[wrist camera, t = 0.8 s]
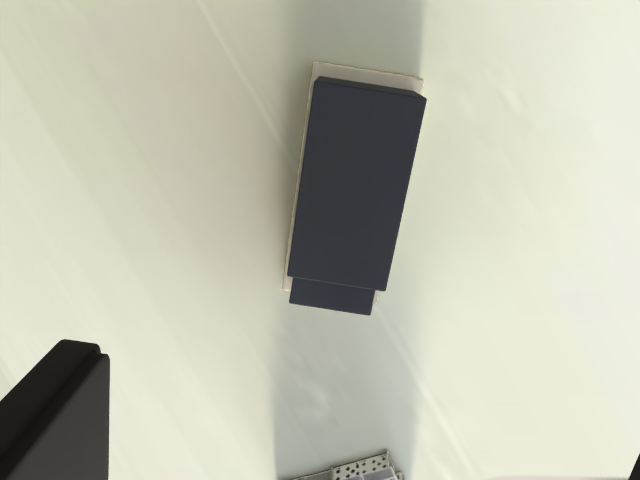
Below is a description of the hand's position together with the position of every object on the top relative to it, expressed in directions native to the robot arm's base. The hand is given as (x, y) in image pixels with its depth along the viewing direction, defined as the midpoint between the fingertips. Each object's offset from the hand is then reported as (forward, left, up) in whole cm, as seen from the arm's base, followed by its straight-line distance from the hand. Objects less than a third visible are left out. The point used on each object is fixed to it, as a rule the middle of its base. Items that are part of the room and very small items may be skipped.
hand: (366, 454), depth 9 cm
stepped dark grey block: (0, -1, -16) cm, 16 cm away
